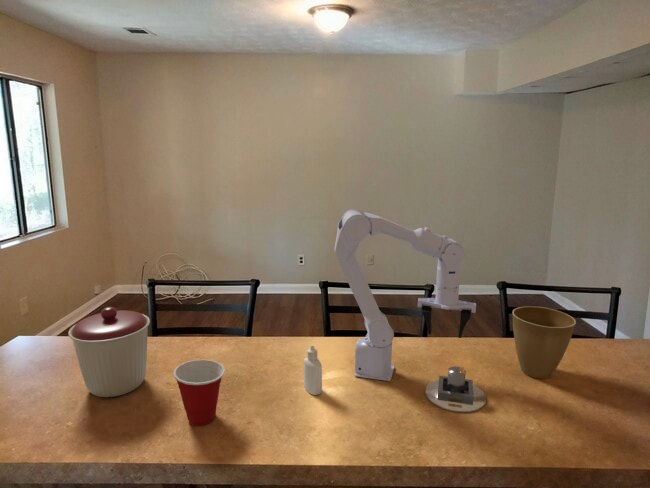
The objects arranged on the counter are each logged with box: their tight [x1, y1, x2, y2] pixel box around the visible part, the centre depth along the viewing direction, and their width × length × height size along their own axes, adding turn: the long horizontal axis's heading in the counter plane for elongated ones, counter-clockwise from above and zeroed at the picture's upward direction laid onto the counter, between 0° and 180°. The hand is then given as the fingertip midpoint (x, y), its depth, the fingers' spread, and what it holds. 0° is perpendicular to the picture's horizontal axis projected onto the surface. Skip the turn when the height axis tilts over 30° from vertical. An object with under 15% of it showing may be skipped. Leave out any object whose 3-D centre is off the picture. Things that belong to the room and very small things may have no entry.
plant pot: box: [512, 306, 577, 380], centre depth 119 cm, size 15×15×16 cm
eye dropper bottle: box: [303, 344, 323, 396], centre depth 111 cm, size 4×6×12 cm
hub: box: [425, 375, 487, 413], centre depth 109 cm, size 14×14×3 cm
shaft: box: [447, 366, 467, 394], centre depth 108 cm, size 4×4×6 cm
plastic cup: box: [173, 358, 226, 427], centre depth 99 cm, size 11×11×12 cm
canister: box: [67, 306, 151, 398], centre depth 111 cm, size 18×18×21 cm
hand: (444, 334), depth 119 cm, fingers open, 7 cm apart
